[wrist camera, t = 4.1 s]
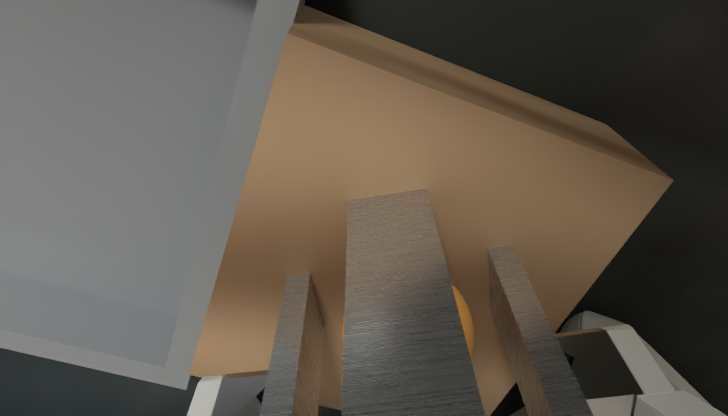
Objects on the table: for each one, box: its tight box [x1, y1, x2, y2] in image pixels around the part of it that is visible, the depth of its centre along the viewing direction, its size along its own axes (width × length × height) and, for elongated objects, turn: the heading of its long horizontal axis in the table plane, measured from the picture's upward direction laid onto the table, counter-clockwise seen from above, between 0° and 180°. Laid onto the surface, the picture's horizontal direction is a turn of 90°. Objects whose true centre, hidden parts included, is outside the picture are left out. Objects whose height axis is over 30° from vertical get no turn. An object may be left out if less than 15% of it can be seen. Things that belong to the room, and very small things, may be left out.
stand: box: [189, 5, 674, 416], centre depth 14 cm, size 10×9×4 cm
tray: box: [0, 0, 305, 390], centre depth 12 cm, size 14×12×2 cm
